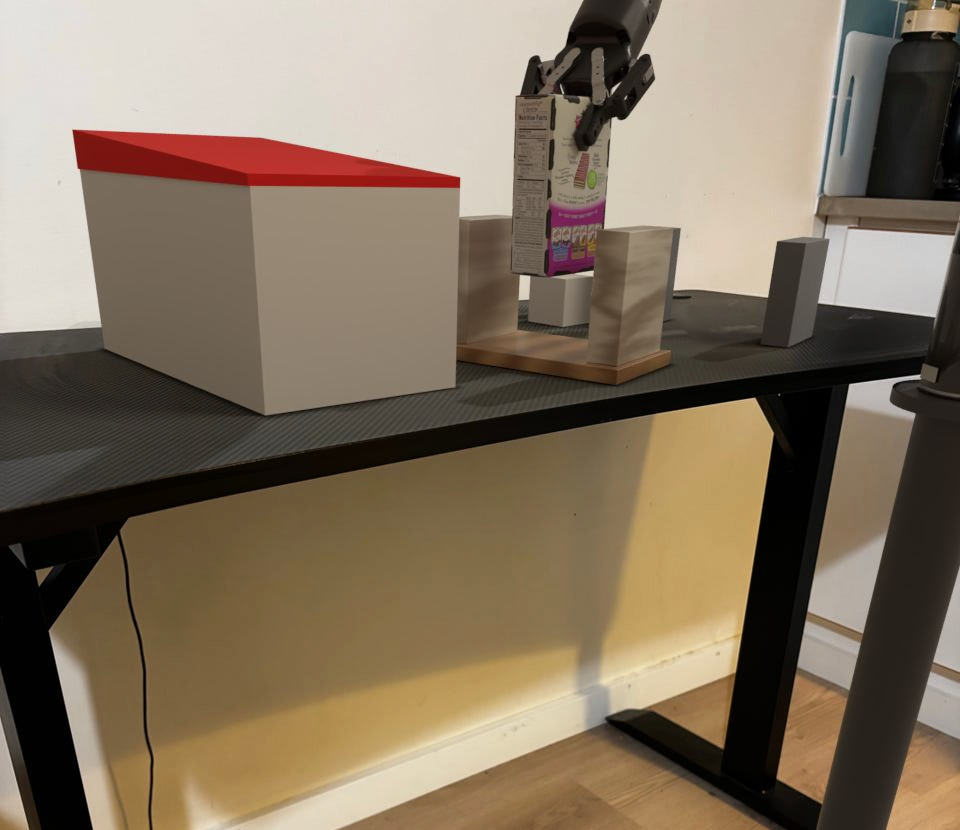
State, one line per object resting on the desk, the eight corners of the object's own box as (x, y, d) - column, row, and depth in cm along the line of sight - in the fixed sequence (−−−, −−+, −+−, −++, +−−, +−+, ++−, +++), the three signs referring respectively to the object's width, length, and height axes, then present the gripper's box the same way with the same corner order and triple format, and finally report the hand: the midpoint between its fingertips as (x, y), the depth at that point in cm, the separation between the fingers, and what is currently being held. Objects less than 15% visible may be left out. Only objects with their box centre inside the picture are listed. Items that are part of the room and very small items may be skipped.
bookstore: (272, 332, 116) (260, 137, 107) (455, 387, 93) (461, 143, 83) (101, 348, 104) (71, 129, 94) (263, 415, 80) (244, 133, 71)
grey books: (811, 336, 127) (829, 238, 122) (788, 347, 119) (806, 243, 113) (647, 316, 138) (657, 226, 133) (614, 325, 130) (623, 229, 124)
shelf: (669, 364, 107) (686, 227, 100) (616, 385, 96) (630, 233, 90) (492, 339, 117) (497, 213, 111) (426, 355, 106) (427, 217, 100)
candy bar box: (564, 266, 108) (575, 98, 100) (602, 270, 105) (617, 99, 98) (505, 273, 100) (513, 92, 92) (546, 278, 97) (557, 92, 90)
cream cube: (562, 327, 127) (565, 279, 125) (527, 321, 131) (530, 274, 128) (589, 322, 131) (593, 276, 129) (555, 317, 135) (557, 271, 132)
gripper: (545, -16, 99) (479, 111, 96) (676, -23, 93) (611, 113, 89) (565, 49, 106) (504, 170, 102) (688, 47, 99) (628, 176, 95)
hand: (554, 143), depth 96 cm, fingers closed on candy bar box, 5 cm apart
